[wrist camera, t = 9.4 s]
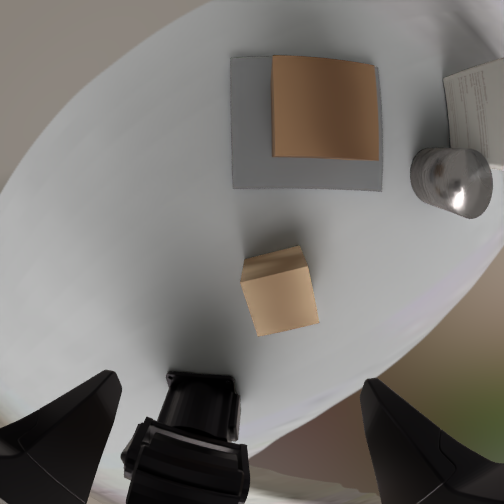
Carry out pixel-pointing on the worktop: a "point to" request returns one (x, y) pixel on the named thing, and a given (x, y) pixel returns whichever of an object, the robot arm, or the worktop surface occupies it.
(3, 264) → the worktop surface
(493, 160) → the supplement box
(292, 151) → the walnut block
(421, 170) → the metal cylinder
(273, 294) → the beech block
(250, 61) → the slate mat
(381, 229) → the worktop surface
